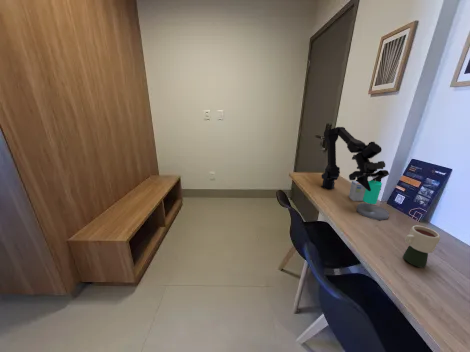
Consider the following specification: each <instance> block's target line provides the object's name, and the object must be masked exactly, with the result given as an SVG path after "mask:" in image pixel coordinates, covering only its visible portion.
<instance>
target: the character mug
mask: <svg viewBox="0 0 470 352" xmlns="http://www.w3.org/2000/svg"><path fill="white" fill-rule="evenodd" d="M440 240H441V235H440V234H439V232H437V231H435V230H434V229H432V228H429V227H426V226H424V225H413V226H412V227H411V228H410V230H409V233H408V234H407V235H406V236H405V239H404V242H405V244H407V245H408V247H407V248H406V250H405V252H404V253H403V255H402V258H403V259H404V260H405V261H406V262H407V263H409V264H411V265H413V266H415V267H418V268H425V267H426V266H427V262H428V257H429V254H431V253H433V252H434V251H435V249H436V247H437V245H438V244H439V242H440Z"/></svg>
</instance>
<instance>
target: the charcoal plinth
mask: <svg viewBox="0 0 470 352" xmlns="http://www.w3.org/2000/svg"><path fill="white" fill-rule="evenodd" d="M356 212H357V213H358V214H360V215H362V216H363V217H366V218H369V219H372V220H377V221H385V220H387V219H388V218H389V215H390V212H389V211H388V210H387V209H386V208H384V207H382V206H379V205H376V204H369V203H366V202H364V203H363V202H362V203H359V204H357V205H356Z"/></svg>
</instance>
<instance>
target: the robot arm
mask: <svg viewBox="0 0 470 352" xmlns="http://www.w3.org/2000/svg"><path fill="white" fill-rule="evenodd" d="M323 137H324V141H325V142H326V146H327V147H326V148H327V150H326V153H327V154H326V155H327V165H326V168H324V172H323V173H322V174H321V179H323V180H322V185H321V186H320V187H321V188H322V189H325V190H328V191H329V190H334V189H335V184H336V182H335V181H338V178H339V176H340V174H341V171H340V169H341V168H340V166H338V165H337V152H336V151H337V146H336V142H337V141H338V139H339V137H340V139H341V140H342V141H343V142H344V143H345V144H346V145H347V146H346V148H347V150H348V151H349V152H350V153H351V154H353V156H352V158H351V160H355V162H356V165H357V167H356V169H357V170H354V171H353V172H352V173H350V174H349V175H348V179H349V181H357V182H359V183H360V184H361V185H362V186H364V187H365V188H366V189H367V190H368V191H371V189H370V185H369V182H368V181H369V177H370V178H372V179H371V180H374V181H375V180H376V181H378V182H381V183H382V179H384V178H386V177H387V176H389V175H390V172H389V171H388V170H386V169H384V168H386V162H385V161H384V160H380V161H377V162H373V161H371V159H372V158H374V157H376V156H377V155H378V154H380V153H382V147H381V146H380V145H379V144H377V143H376V142H375V141H370V142H368V144H366V143H365V142H363V141H362V140H360V139H356V138H355V137H354V136H353V135H352V134H351V133H350V132H349V131H348V130H347V129H346V128H345V127H344V126H336V127H333V128H327V129H326V130H325V131H324V132H323ZM355 153H356V154H355ZM381 190H382V188H381V189H380V191H381Z"/></svg>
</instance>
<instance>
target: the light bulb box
mask: <svg viewBox="0 0 470 352" xmlns="http://www.w3.org/2000/svg"><path fill="white" fill-rule="evenodd" d="M365 190H366V188H365V187H364V186H362V185H361V184H360V183H359V182H357V181H356V180H351V184H350V189H349V192H348V198H350V200H351V201H353V202H364V201H363V197H364V193H365Z"/></svg>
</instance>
